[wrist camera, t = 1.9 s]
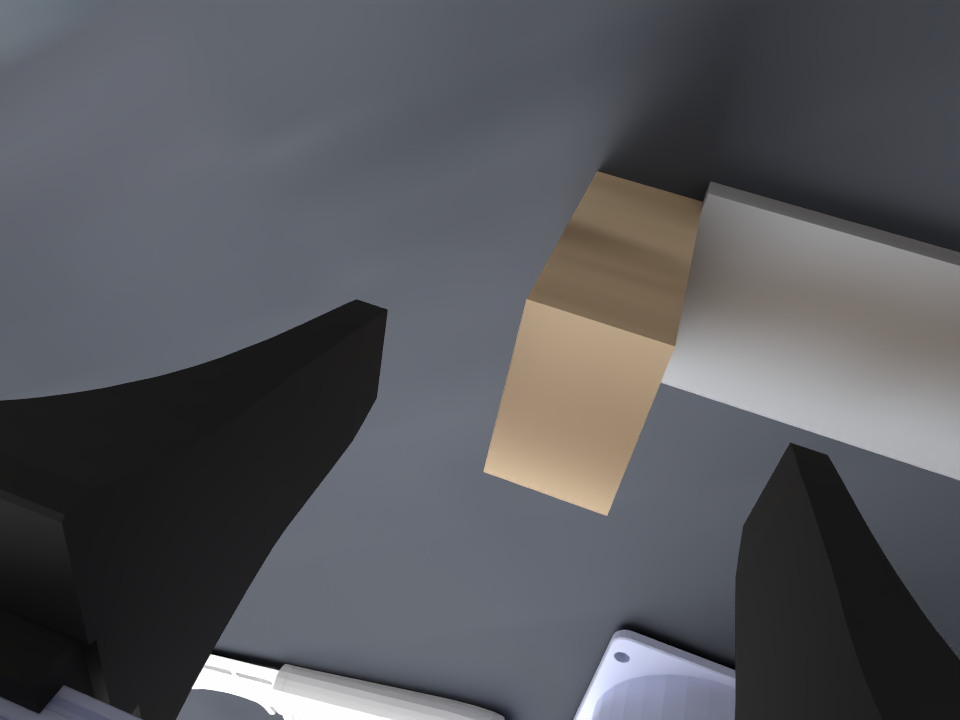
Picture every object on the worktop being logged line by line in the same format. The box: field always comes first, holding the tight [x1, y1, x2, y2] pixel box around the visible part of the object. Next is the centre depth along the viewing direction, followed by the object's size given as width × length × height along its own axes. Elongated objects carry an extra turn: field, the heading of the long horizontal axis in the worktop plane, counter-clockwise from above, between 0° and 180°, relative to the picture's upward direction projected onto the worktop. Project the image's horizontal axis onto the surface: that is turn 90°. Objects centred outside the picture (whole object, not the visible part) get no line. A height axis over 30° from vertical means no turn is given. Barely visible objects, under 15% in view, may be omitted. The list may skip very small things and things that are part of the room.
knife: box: [192, 654, 505, 720], centre depth 37 cm, size 30×2×8 cm
